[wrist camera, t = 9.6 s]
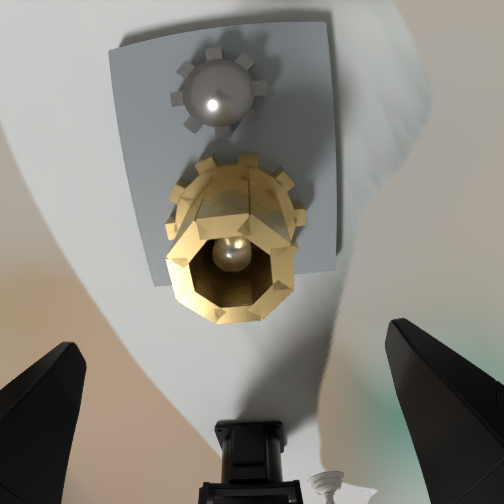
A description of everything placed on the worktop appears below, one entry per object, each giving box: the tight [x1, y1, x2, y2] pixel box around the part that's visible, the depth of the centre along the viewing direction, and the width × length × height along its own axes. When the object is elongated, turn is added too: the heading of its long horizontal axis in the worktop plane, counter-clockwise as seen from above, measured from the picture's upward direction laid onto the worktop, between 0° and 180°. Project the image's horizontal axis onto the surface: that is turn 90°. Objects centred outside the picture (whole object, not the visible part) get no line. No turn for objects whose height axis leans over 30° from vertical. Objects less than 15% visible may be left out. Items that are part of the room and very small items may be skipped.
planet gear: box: [165, 150, 306, 324], centre depth 15 cm, size 7×7×6 cm
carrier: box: [108, 21, 337, 286], centre depth 14 cm, size 14×11×6 cm
